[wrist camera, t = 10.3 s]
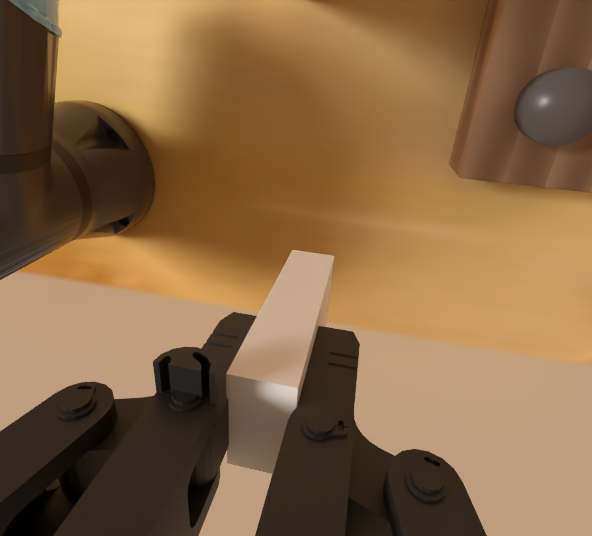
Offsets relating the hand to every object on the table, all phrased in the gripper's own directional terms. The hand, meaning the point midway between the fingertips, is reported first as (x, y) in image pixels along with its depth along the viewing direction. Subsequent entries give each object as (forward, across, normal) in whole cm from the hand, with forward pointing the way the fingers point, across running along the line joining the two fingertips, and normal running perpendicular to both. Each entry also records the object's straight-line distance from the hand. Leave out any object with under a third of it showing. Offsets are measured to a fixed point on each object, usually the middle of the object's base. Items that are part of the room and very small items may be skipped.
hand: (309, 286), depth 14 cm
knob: (+27, +14, +6) cm, 31 cm away
